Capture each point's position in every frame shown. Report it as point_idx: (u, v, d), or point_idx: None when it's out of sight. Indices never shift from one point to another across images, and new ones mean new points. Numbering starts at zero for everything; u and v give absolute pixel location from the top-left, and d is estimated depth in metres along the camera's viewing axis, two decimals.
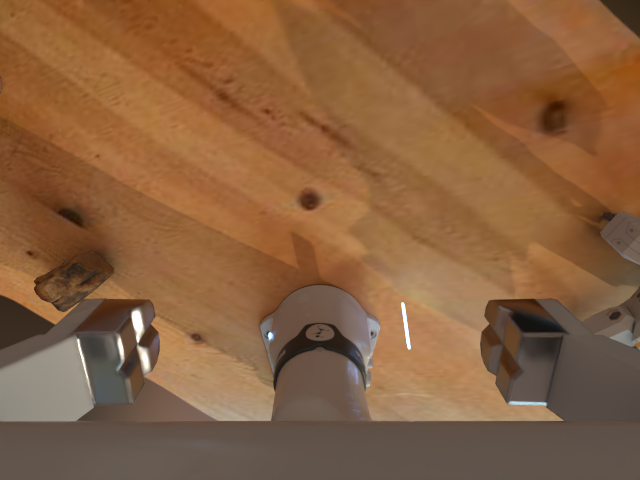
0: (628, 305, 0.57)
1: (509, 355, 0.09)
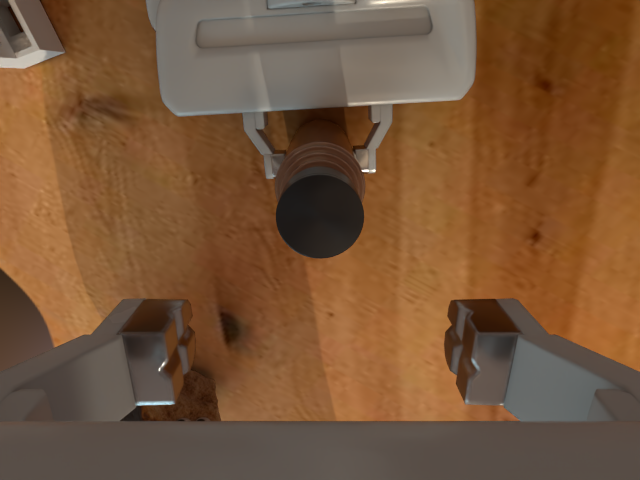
0: None
1: (468, 355, 0.09)
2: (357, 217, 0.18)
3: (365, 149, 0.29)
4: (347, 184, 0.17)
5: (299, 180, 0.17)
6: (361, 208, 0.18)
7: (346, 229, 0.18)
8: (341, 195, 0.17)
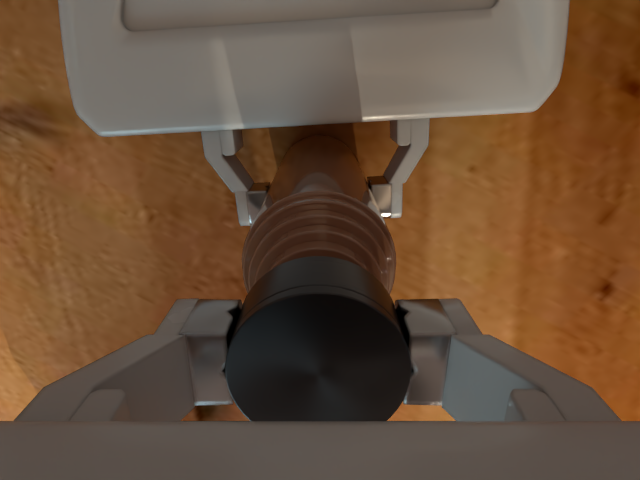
0: None
1: None
2: (397, 374, 0.08)
3: (387, 184, 0.19)
4: (378, 310, 0.08)
5: (273, 303, 0.08)
6: (406, 356, 0.08)
7: (373, 395, 0.09)
8: (364, 333, 0.08)
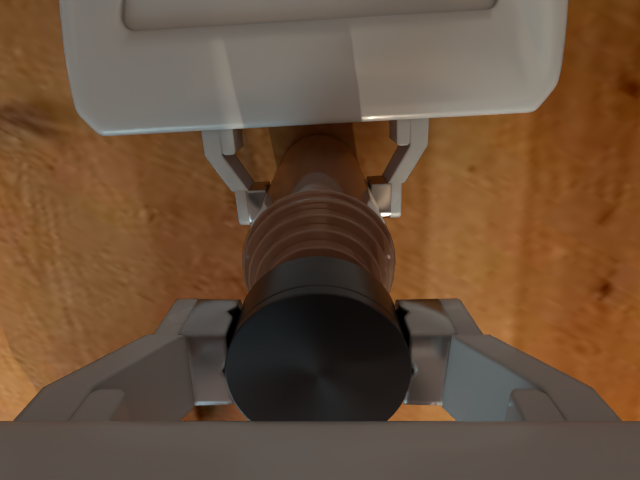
0: None
1: None
2: (322, 306, 0.08)
3: (386, 184, 0.19)
4: (246, 320, 0.08)
5: (236, 403, 0.09)
6: (302, 296, 0.08)
7: (349, 329, 0.08)
8: (269, 334, 0.08)
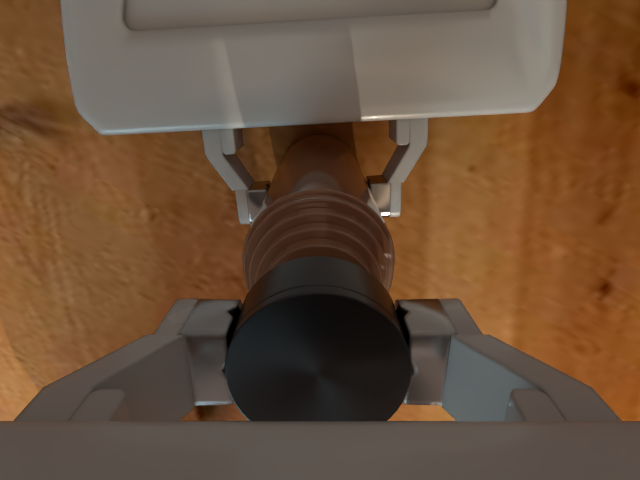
0: None
1: None
2: (238, 368, 0.08)
3: (386, 183, 0.19)
4: None
5: None
6: (229, 381, 0.08)
7: (263, 348, 0.08)
8: (268, 409, 0.09)
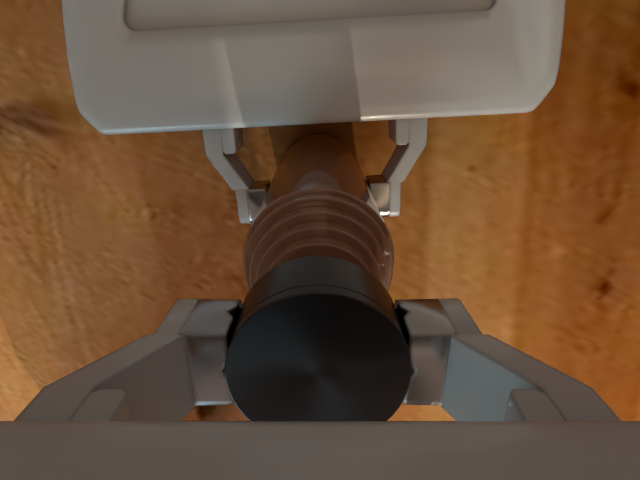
0: None
1: None
2: None
3: (385, 183, 0.20)
4: None
5: (408, 356, 0.08)
6: None
7: (282, 415, 0.09)
8: (355, 418, 0.09)
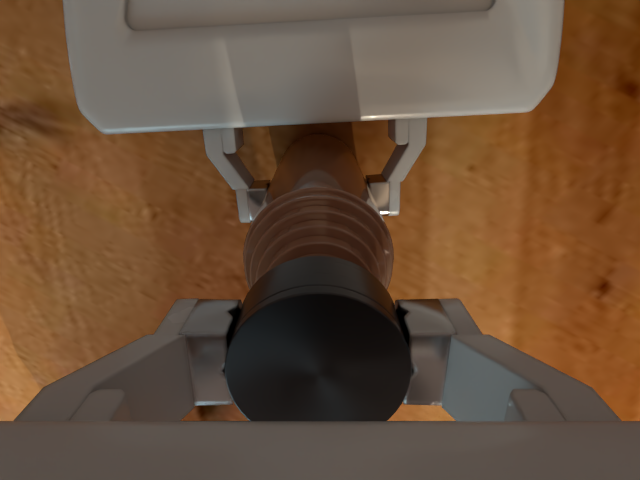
0: None
1: None
2: (393, 392, 0.09)
3: (385, 182, 0.20)
4: (396, 328, 0.08)
5: (300, 295, 0.08)
6: (407, 378, 0.08)
7: (364, 407, 0.09)
8: (377, 346, 0.08)
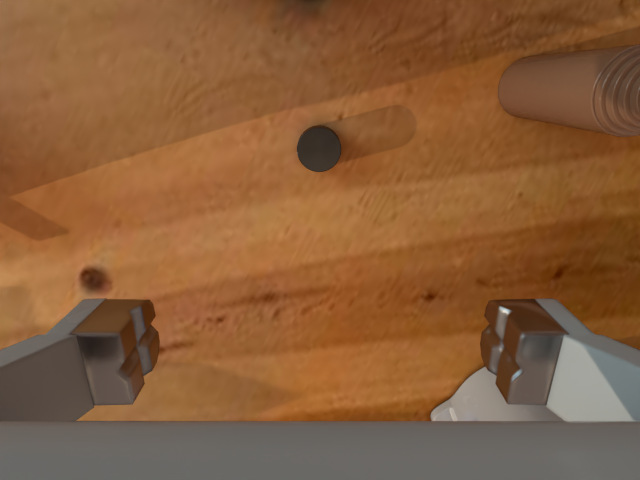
0: None
1: (510, 355, 0.09)
2: (325, 132, 0.35)
3: None
4: (307, 130, 0.35)
5: (297, 152, 0.36)
6: (321, 128, 0.35)
7: (329, 139, 0.35)
8: (311, 135, 0.35)
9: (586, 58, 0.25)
